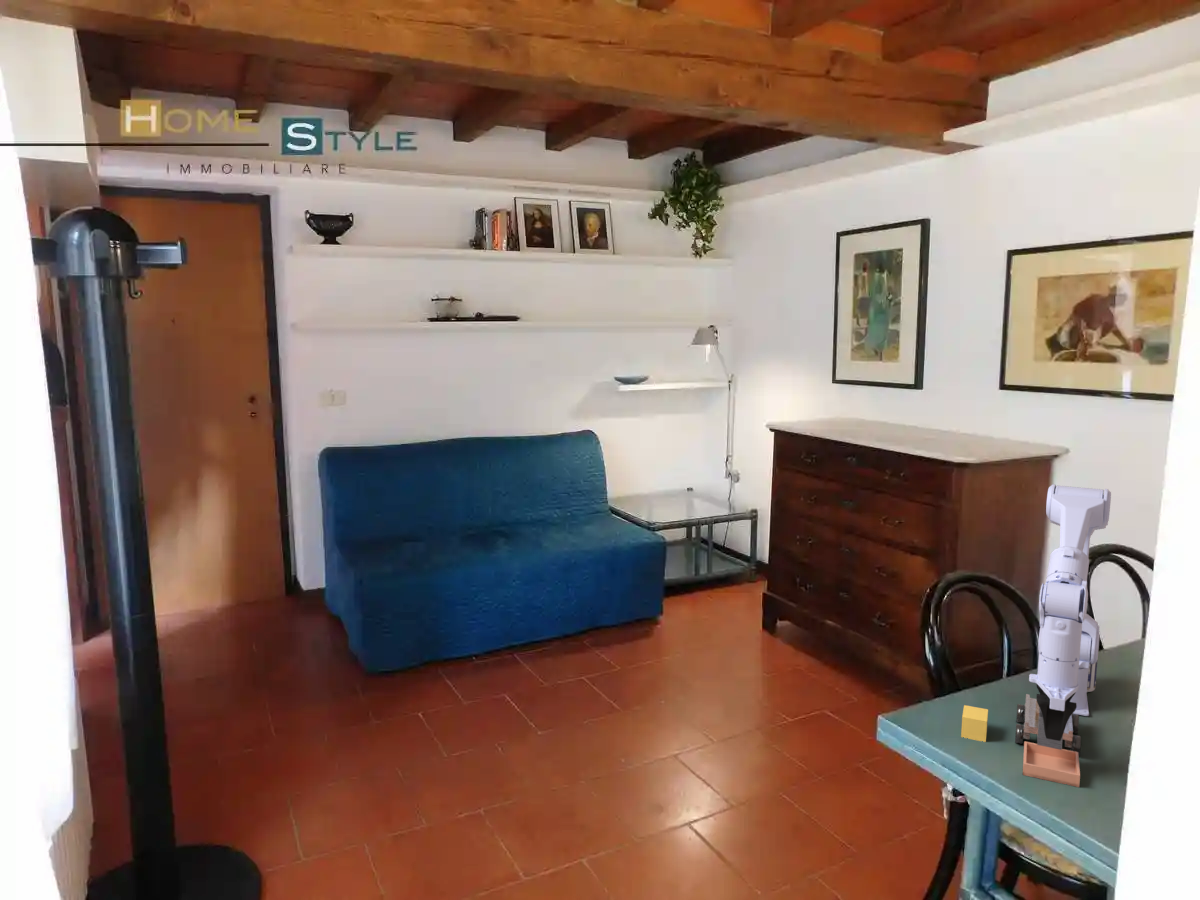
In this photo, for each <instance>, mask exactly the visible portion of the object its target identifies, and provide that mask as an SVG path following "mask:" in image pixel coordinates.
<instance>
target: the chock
mask: <svg viewBox="0 0 1200 900" xmlns="http://www.w3.org/2000/svg"><path fill="white" fill-rule="evenodd" d="M988 716H989V709H987V708H982V707H976V706H971V705H966V704H964V705H963V710H962V717H961V731H960V732H961V733H960V734H961V735H960V737H961V738H963V737H964V739H967V738H968V740H974V741H977V742H982V741H983V743H987V734H988V720H989V717H988Z"/></svg>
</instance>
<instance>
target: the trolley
mask: <svg viewBox="0 0 1200 900" xmlns="http://www.w3.org/2000/svg"><path fill="white" fill-rule="evenodd" d="M1036 699H1037V698H1033V697H1030V694H1028V693H1026V694H1025V703H1024V704H1020V703H1017V704H1016V705H1017V706H1016V720H1015V722H1017V723H1016V724H1015V735H1014V736H1015V738H1014V743H1016V744H1020V745H1024V739H1025V740H1030V738H1031V737H1030V736H1031V734H1032V735H1033V734H1034V735H1037V734H1038V720H1039V705H1038V703H1037V700H1036ZM1079 717H1080V715H1078V714H1072V715H1071V716H1070V718H1069V719H1068V721H1067V724H1066V727H1065V730H1064V733H1063V740H1064V747H1065V748H1070V751H1075V752H1078V757H1079V756H1080V755H1081V745H1082V744H1081V739H1082V737H1081V736H1080V735H1075V734H1078V733H1079V725H1080V724H1079V723H1080V719H1079ZM1020 723H1022V724H1020ZM1063 740H1062V741H1063Z"/></svg>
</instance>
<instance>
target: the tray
mask: <svg viewBox="0 0 1200 900" xmlns="http://www.w3.org/2000/svg"><path fill="white" fill-rule="evenodd" d="M1022 757H1023V761H1022V775H1023V776H1027V777H1030V778H1035V779H1040V780H1044V781H1049V782H1053V783H1058V784H1061V785H1062V784H1063V785H1066V784H1067V786H1072V787H1075V788H1080V781H1081V780H1080V779H1081V771H1080V770H1081V769H1080V758H1079V755H1078V752H1075V751H1071V749H1070V750H1069V749H1065V748H1062V750H1060V749H1055V748H1050V747H1045V746H1040V745H1037V743H1034V742H1030V741H1024V740H1023V756H1022Z"/></svg>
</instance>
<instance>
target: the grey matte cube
mask: <svg viewBox="0 0 1200 900" xmlns="http://www.w3.org/2000/svg"><path fill="white" fill-rule="evenodd" d="M1036 735H1037V736H1036V737H1037V742H1036V744H1037V745H1040V746H1045V747H1050V748H1055V749H1060V750H1062V749H1063V736H1062V738H1061V740H1060V741H1057V740H1052V739H1047V738H1046V736H1045V731H1044V722H1043V716H1042V712H1041V709H1040V707H1039V720H1038V734H1036Z"/></svg>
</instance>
